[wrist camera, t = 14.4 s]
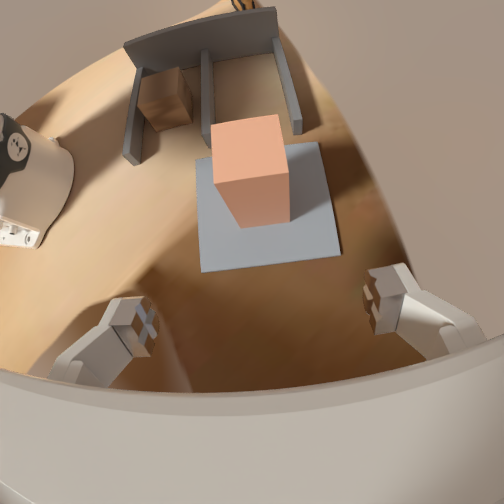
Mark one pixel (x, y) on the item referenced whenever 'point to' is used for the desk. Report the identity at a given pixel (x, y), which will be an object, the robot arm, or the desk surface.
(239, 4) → the ammunition clip
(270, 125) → the terracotta block
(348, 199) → the desk surface
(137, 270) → the desk surface
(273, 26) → the lane rack
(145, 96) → the walnut block
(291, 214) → the slate mat
